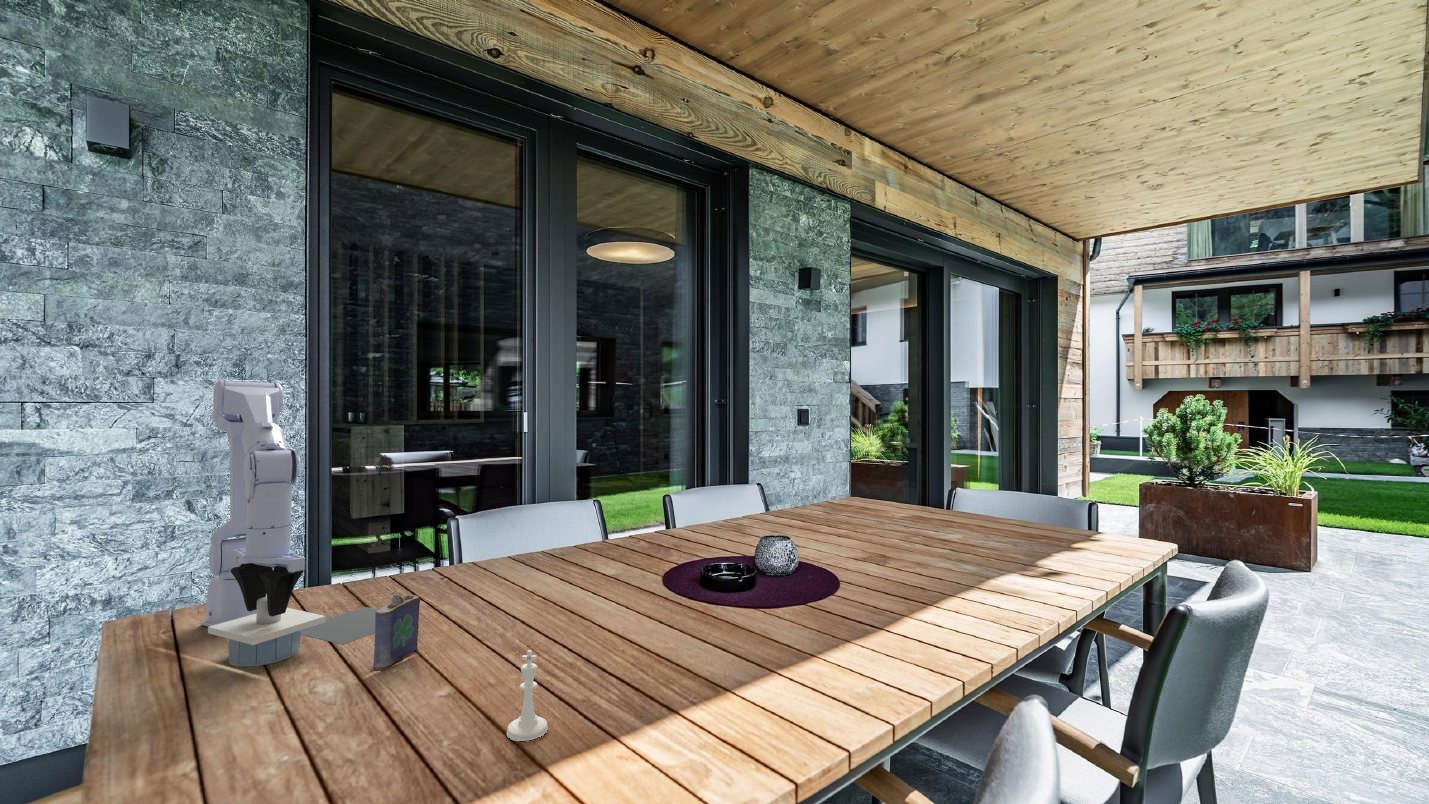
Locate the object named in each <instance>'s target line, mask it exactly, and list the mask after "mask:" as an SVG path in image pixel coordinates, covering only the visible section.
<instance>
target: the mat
mask: <svg viewBox="0 0 1429 804" xmlns="http://www.w3.org/2000/svg"><path fill="white" fill-rule="evenodd" d="M379 609H380V608H378V609H377V608H373V607H367V606H363V607H360V608H357V609H353V610H351V611H347V612H343V613H341V614H337V615H335V616H331V617H326V621H325V623H321V624H318V625H315V626H312V627H309V628H306V629H303V630H300V636H304V637H309V638H312V639H313V638H314V639H318V640H321V641H325V642H330V643H334V644H338V645H341V646H342V645H345V644H348V643H352V642H354V641H357V640H359V639H362V638H365V637H369V636H371V635H375V620H376V618H375V615H376V611H377V610H379Z"/></svg>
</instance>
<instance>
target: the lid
mask: <svg viewBox="0 0 1429 804" xmlns="http://www.w3.org/2000/svg"><path fill="white" fill-rule="evenodd" d="M326 619H327V617H326V615H322V614H317V613H313V612H309V611H304V610H300V609H295V608H290V607H287V609H286V612H285V613H283V614H280V615H276V616H269V613H268V606H267V597H264V598H260V599H258V600H257V612H256V614H253V615H249V616H245V617H242V618H238V619H235V620H231V621H227V622H224V623H220V624H216V625H213V626H209V627H208V626H207V634H210V635H214V636H215V637H216V636H217V637H220V638H225V639H228V640H229V639H231V640H235V641H239V642H243V643H247V644H250V645H255V644H258V643H262V642H265V641H268V640H271V639H274V638H277V637H280V636H284V635H287V634H290V633H293V632H296V631H299V630H303V629H306V628H309V627H312V626H315V625H318V624H321V623H325V621H326Z"/></svg>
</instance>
